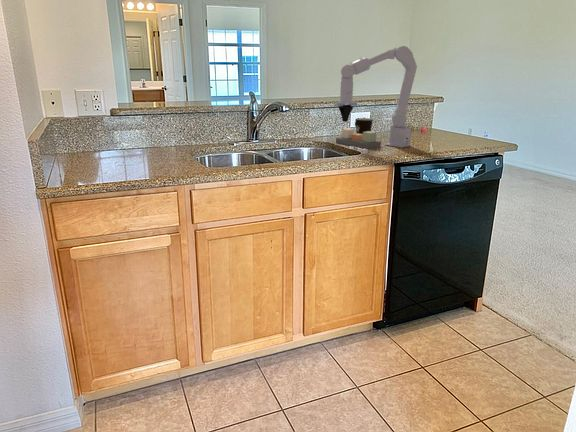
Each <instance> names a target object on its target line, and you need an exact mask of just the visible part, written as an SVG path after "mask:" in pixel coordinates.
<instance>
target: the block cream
mask: <svg viewBox="0 0 576 432" xmlns="http://www.w3.org/2000/svg"><path fill="white" fill-rule="evenodd" d="M355 132H356V128H350V127H346V128H341V135H340V136H341V138H347V139H350V138H352V134H355Z"/></svg>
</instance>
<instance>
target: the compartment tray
mask: <svg viewBox="0 0 576 432" xmlns="http://www.w3.org/2000/svg"><path fill="white" fill-rule="evenodd" d="M351 139H352V138H350V139H347V138H341V137H339V136H338V137H335V143H336V144H339V145H347V146H352V147H357V148H362V149H368V150H370V149H373V148H374V149H375V148H380V147H381V143H382V141H379V140H376V141H375V142H364V141H356V140H351Z"/></svg>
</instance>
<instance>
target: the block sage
mask: <svg viewBox="0 0 576 432" xmlns="http://www.w3.org/2000/svg"><path fill="white" fill-rule="evenodd" d="M362 141H364V142H375V141H377V131H367V132H363V137H362Z"/></svg>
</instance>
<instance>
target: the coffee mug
mask: <svg viewBox="0 0 576 432" xmlns="http://www.w3.org/2000/svg"><path fill="white" fill-rule="evenodd" d="M373 120H374V119H373V118H369V117H368V118H364V117H362V118H361V117H357V118H355V121H354V126H355V134H357V133H358V134H363V132H367V131H371V130H372V126H373V122H374V121H373ZM371 132H372V131H371Z"/></svg>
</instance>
